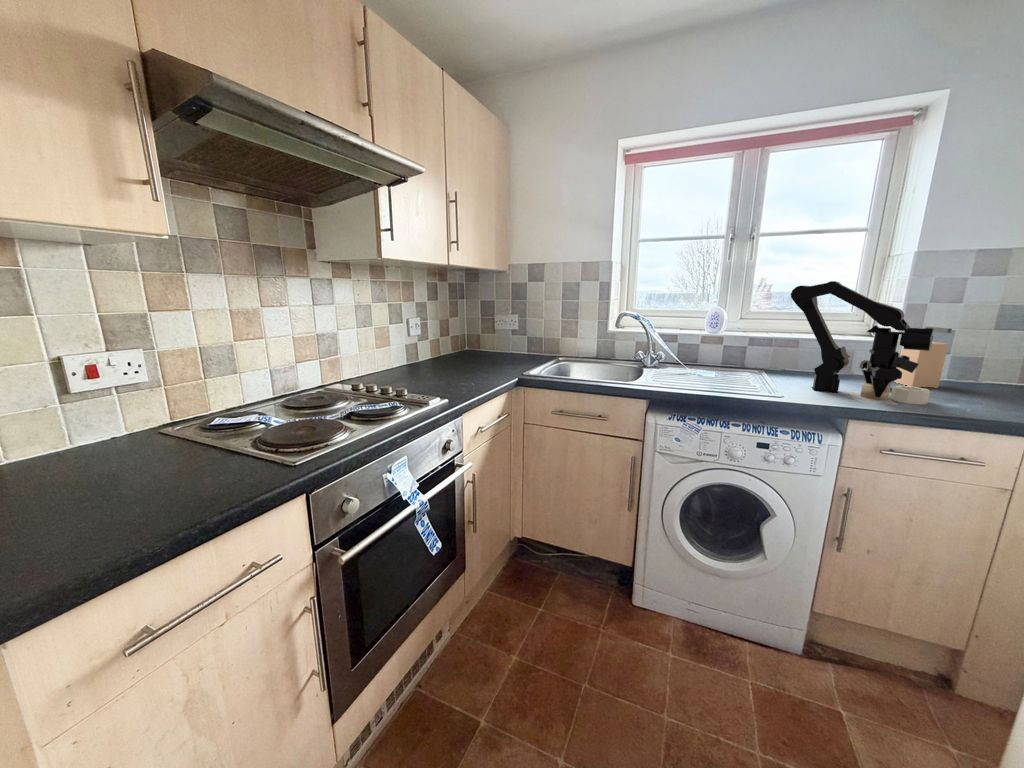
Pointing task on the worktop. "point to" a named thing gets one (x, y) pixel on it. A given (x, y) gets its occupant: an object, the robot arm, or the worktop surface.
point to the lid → (869, 392)
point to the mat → (858, 398)
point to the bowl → (910, 394)
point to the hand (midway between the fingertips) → (874, 394)
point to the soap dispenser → (925, 364)
